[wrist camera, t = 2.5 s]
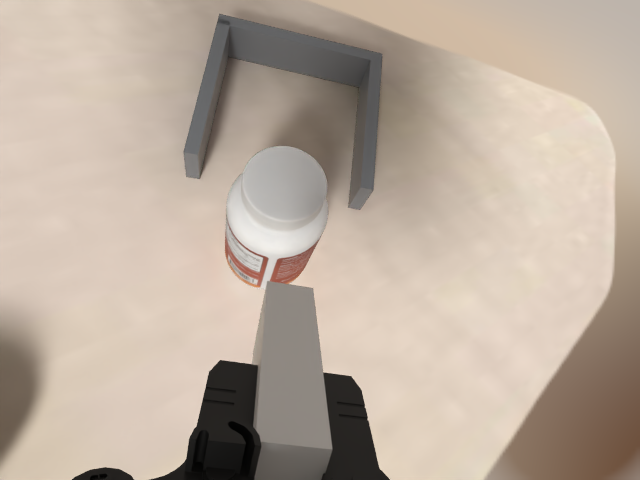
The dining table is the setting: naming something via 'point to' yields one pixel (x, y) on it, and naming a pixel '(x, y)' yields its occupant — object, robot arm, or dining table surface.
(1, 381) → the dining table surface
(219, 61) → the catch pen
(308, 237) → the pill bottle
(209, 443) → the robot arm
